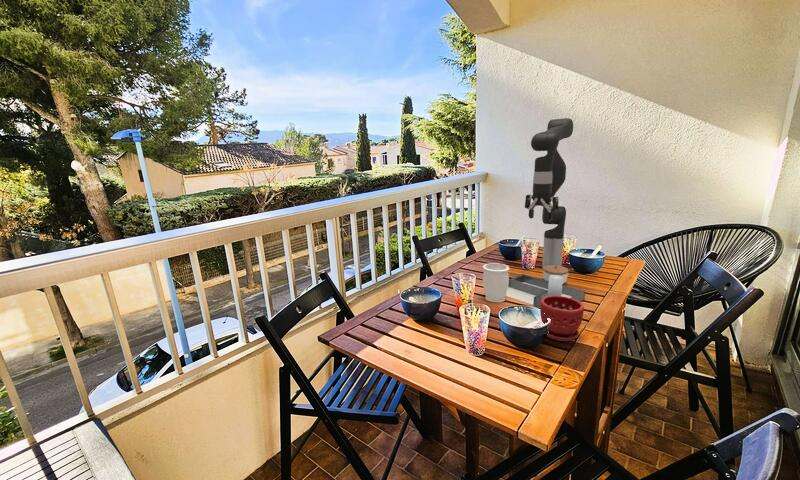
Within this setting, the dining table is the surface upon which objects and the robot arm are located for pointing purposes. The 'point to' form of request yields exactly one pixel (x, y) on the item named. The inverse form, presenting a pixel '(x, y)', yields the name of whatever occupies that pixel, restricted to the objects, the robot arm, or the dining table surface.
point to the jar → (495, 281)
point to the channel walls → (542, 293)
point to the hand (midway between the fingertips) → (540, 219)
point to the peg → (555, 285)
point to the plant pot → (562, 317)
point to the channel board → (525, 294)
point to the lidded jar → (555, 272)
